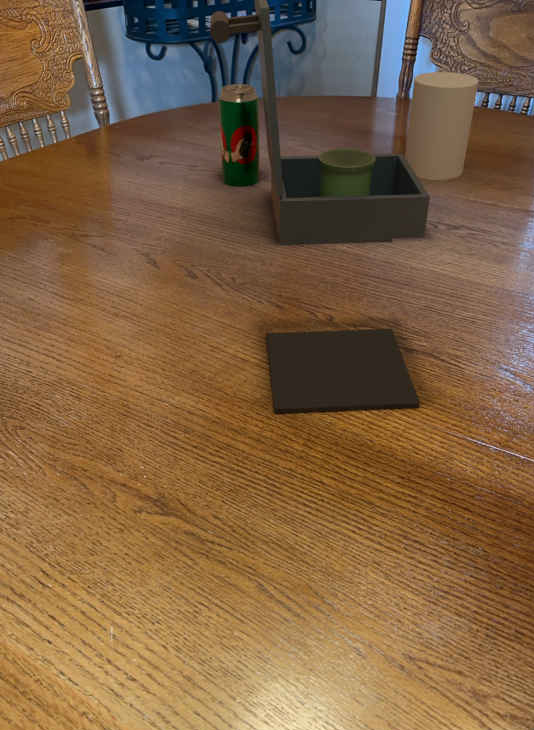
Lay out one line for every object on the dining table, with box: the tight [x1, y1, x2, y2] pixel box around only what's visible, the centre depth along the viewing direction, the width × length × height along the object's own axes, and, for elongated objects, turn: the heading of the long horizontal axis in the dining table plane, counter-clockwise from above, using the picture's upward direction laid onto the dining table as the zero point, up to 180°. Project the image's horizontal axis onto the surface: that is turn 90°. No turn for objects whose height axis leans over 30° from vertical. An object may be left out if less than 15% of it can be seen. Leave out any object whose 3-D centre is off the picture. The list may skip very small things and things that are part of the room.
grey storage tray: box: [270, 153, 431, 246], centre depth 84 cm, size 17×15×6 cm
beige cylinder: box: [404, 71, 479, 181], centre depth 94 cm, size 8×8×12 cm
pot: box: [318, 148, 376, 197], centre depth 83 cm, size 7×7×7 cm
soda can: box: [218, 83, 261, 188], centre depth 92 cm, size 5×5×12 cm
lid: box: [209, 0, 284, 197], centre depth 76 cm, size 17×15×6 cm
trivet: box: [265, 328, 421, 415], centre depth 62 cm, size 12×12×1 cm
